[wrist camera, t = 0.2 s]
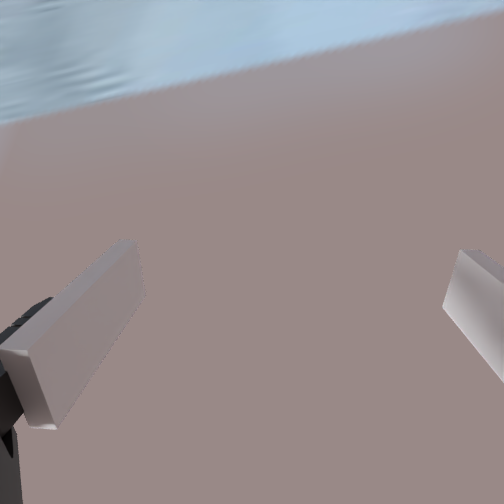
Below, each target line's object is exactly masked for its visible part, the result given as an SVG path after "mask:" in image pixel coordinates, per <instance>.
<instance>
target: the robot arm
mask: <svg viewBox="0 0 504 504" xmlns="http://www.w3.org/2000/svg"><path fill="white" fill-rule="evenodd" d="M145 296H146V293H145V287H144V280H143V274H142V268H141V262H140V255H139V250H138V243H137V240H118V241H117V242H116V243H115V244H114V245H113V246H111V247H110V248H109V249H108V250H107V251H106V252H105V253H104V254H102V255H101V256H100V257H99V258H98V259H97V260H96V261H95V262H94V263H92V264H91V265H90V266H89V267H88V268H87V269H86V270H84V271H83V272H82V273H81V274H80V275H79V276H78V277H76V278H75V279H74V280H73V281H72V282H71V283H70V284H69V285H67V286H66V287H65V288H64V289H63V290H62V291H61V292H60V293H58V294H57V295H56V296H55V297H49V298H47V299H45V300H44V301H42V302H40V303H38V304H36V305H34V306H33V307H31V308H30V309H29V310H28V311H27V312H26V313H24V314H23V315H22V316H21V318H18V319H17V320H16V321H15V322H14V323H12V325H11V327H8V328H7V329H5V330H4V331H3V332H2V333H1V334H0V504H23V501H22V490H21V479H20V467H19V454H18V442H17V433H16V431H15V429H14V427H13V425H14V423H15V422H16V421H17V420H18V419H19V417H20V416H21V415H22V414H23V413H24V415H25V418H26V420H27V422H28V425H29V427H30V428H42V429H56V430H57V429H58V427H59V425H60V424H61V422H62V421H63V420H64V418H65V417H66V415H67V414H68V412H69V411H70V409H71V408H72V406H73V405H74V403H75V401H76V400H77V398H78V397H79V396H80V394H81V392H82V391H83V390H84V388H85V387H86V385H87V384H88V382H89V380H90V379H91V377H92V376H93V375H94V373H95V372H96V370H97V369H98V367H99V365H100V364H101V363H102V361H103V360H104V358H105V357H106V355H107V354H108V352H109V351H110V349H111V347H112V346H113V344H114V343H115V341H116V340H117V338H118V337H119V335H120V334H121V332H122V331H123V329H124V328H125V326H126V325H127V323H128V322H129V320H130V319H131V317H132V316H133V314H134V313H135V311H136V310H137V308H138V307H139V305H140V304H141V302H142V301H143V299H144V298H145ZM442 308H443V309H444V310H445V311H446V313H447V314H448V315H449V316H450V317H451V319H452V320H453V321H454V322H455V324H456V325H457V326H458V327H459V329H460V330H461V331H462V332H463V333H464V335H465V336H466V337H467V338H468V339H469V341H470V342H471V343H472V344H473V345H474V347H475V348H476V349H477V351H478V352H479V353H480V354H481V356H482V357H483V358H484V359H485V361H486V362H487V363H488V364H489V365H490V367H491V368H492V369H493V370H494V372H495V373H496V374H497V375H498V376H499V378H500V379H501V380H502V381H503V383H504V267H503V266H501V265H500V264H498V263H497V262H496V261H494V260H493V259H492V258H490V257H489V256H487V255H486V254H485V253H483V252H482V251H480V250H460V251H459V254H458V257H457V261H456V264H455V267H454V271H453V274H452V277H451V280H450V284H449V287H448V290H447V293H446V297H445V300H444V303H443V307H442Z"/></svg>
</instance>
